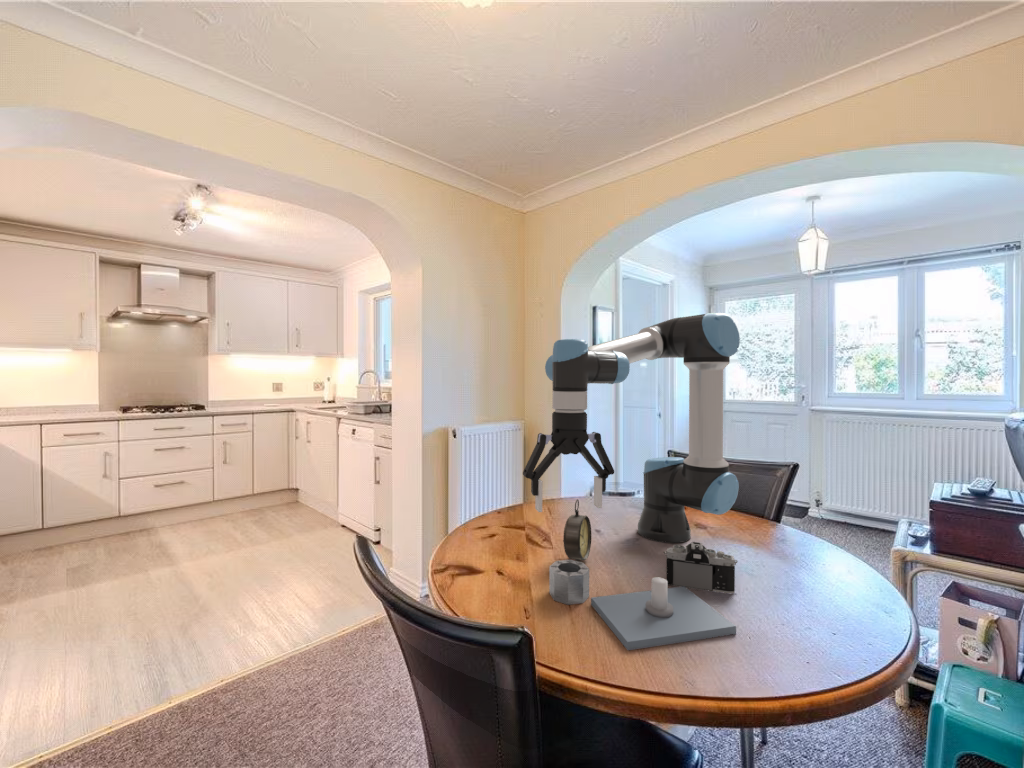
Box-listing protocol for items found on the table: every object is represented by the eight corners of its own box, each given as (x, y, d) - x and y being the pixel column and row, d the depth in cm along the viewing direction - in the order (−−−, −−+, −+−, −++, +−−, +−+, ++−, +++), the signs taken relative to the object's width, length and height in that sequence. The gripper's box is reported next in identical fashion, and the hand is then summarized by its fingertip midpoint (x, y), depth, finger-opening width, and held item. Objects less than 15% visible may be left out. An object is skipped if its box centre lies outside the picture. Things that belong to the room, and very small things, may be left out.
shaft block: (684, 593, 99) (684, 559, 98) (736, 634, 83) (736, 593, 83) (591, 604, 94) (591, 569, 93) (627, 650, 78) (627, 607, 78)
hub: (579, 584, 103) (579, 558, 102) (593, 601, 95) (593, 573, 95) (546, 588, 101) (546, 561, 101) (557, 606, 93) (557, 577, 93)
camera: (734, 580, 105) (734, 538, 105) (739, 598, 96) (739, 552, 96) (664, 570, 110) (664, 530, 110) (663, 586, 102) (663, 543, 102)
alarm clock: (580, 572, 109) (581, 506, 109) (559, 568, 111) (559, 503, 111) (592, 555, 119) (592, 495, 119) (573, 552, 121) (573, 492, 121)
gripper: (614, 409, 103) (613, 500, 104) (509, 410, 98) (509, 506, 98) (630, 411, 96) (629, 509, 96) (517, 413, 91) (517, 517, 91)
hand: (568, 508), depth 97 cm, fingers open, 13 cm apart
